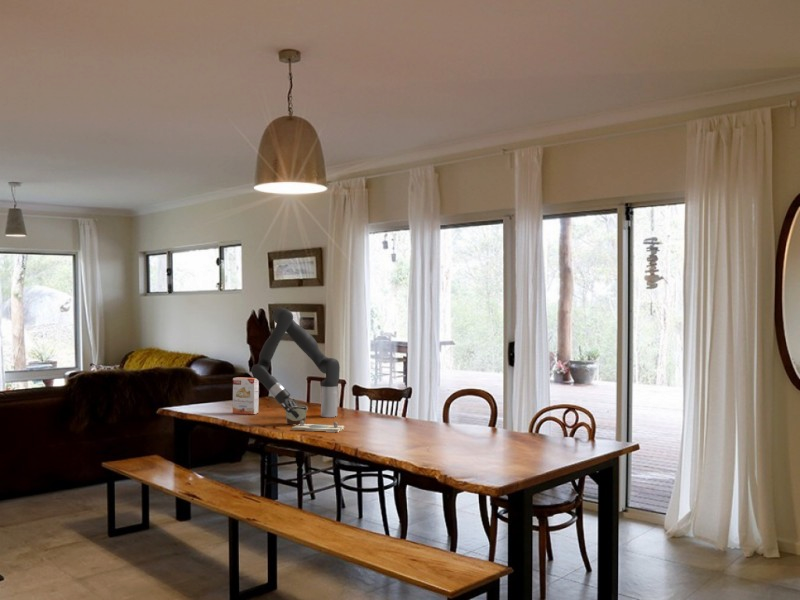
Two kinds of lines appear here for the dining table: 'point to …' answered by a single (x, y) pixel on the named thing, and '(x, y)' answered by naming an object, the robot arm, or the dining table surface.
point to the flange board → (318, 427)
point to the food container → (301, 412)
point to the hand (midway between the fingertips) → (300, 416)
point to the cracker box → (245, 395)
